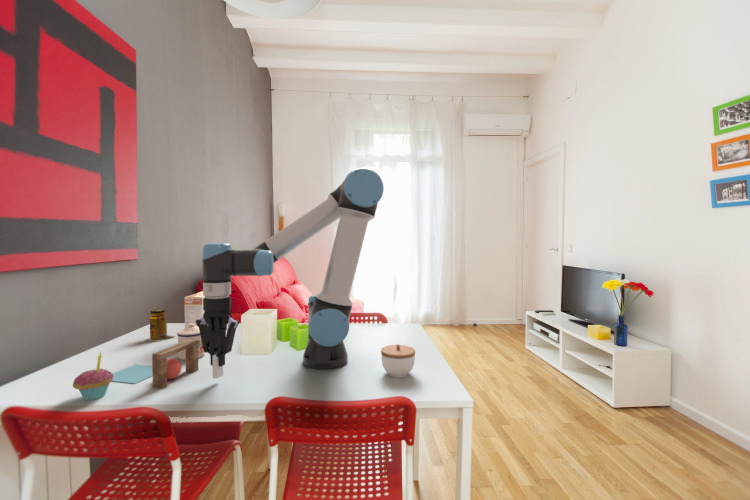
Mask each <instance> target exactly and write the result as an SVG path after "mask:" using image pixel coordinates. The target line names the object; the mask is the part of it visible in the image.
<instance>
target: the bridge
mask: <svg viewBox="0 0 750 500" xmlns="http://www.w3.org/2000/svg"><path fill="white" fill-rule="evenodd" d="M184 349H185V350H186V360H185V372H189V373H196V372H197V371H199V358H198V340H191V339H190V340H187V341H184V342H182V343H179V344H178V343H177V344H174V345H171V346H170V347H167V348H164V349H162V350H159V351H157V352H153V353H152V354H151V358H152V359H151V360H152V361H151V362H152V363H151V364H152V365H151V366H152V371H153V376H152V388H153V389H158V390H159V389H161V390H162V389H165V388H167V387H168V379H167V359H168V357H170V356H173V355H174V354H178V352H179V351H182V350H184Z"/></svg>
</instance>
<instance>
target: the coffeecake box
mask: <svg viewBox="0 0 750 500" xmlns="http://www.w3.org/2000/svg"><path fill="white" fill-rule="evenodd" d="M183 298H184V299H183V301H184V328H186V327H188V325H189V324H191V323H194V324H195V326H197V324H196V320H198V319H201V318H202V317H203V314H204V312H205V311H204V310H203V299H204V298H205V296H203V290H202V291H199V292H197V293H194V294H191V295H187V296H184V297H183ZM207 325H208V324H207Z"/></svg>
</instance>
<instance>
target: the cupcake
mask: <svg viewBox="0 0 750 500" xmlns="http://www.w3.org/2000/svg"><path fill="white" fill-rule="evenodd" d="M101 362H102V352H100V353H99V354H98V355H97V363H96V369H92V370H91V369H90V370H86V371H83V372H81V373H80V374H79V375H77V376H76V377H75V378H74V379H73V383H72V388H74V389H76V390H78V391H79V392H80V395H81V397H82V400H84V401H93V400H94V399H95V400H98V398H99V399H101V398H103V397H105V396H106V394H107V390H108V388H109V386H110V383H113V381H112V379H113V377H114V376H113V373H112V371H109V370H107V369H106V368H104V369H103V368H101ZM95 400H94V401H95Z"/></svg>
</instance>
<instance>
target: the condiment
mask: <svg viewBox="0 0 750 500" xmlns="http://www.w3.org/2000/svg"><path fill="white" fill-rule="evenodd" d="M167 318H168V317H167V313H166V309H165V308H155V309H152V310H150V317H149V338H146V340H147V341H151V342H160V341H163V340H168V339H171V338H174V337H176V336H175V335H169V334H167V332H168V325H167V322H168V321H167V320H168V319H167Z"/></svg>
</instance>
